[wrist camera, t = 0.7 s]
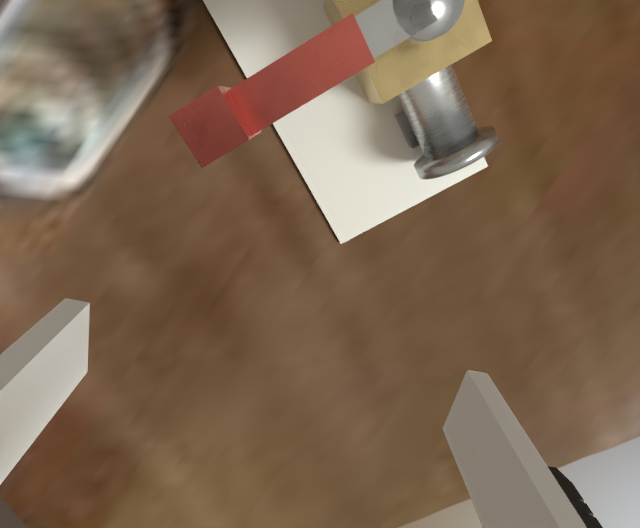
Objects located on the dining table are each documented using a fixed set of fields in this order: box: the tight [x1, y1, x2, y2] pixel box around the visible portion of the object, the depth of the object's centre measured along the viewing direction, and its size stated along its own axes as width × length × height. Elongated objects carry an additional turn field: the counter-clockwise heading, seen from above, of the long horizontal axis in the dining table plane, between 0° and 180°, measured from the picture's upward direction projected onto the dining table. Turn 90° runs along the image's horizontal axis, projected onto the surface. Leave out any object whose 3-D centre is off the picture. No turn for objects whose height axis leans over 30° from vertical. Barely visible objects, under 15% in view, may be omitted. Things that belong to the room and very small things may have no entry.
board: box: [203, 0, 487, 244], centre depth 36 cm, size 25×15×1 cm, turn 29°
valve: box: [323, 0, 499, 180], centre depth 31 cm, size 22×8×10 cm, turn 29°
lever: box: [169, 0, 465, 168], centre depth 24 cm, size 17×4×6 cm, turn 119°
